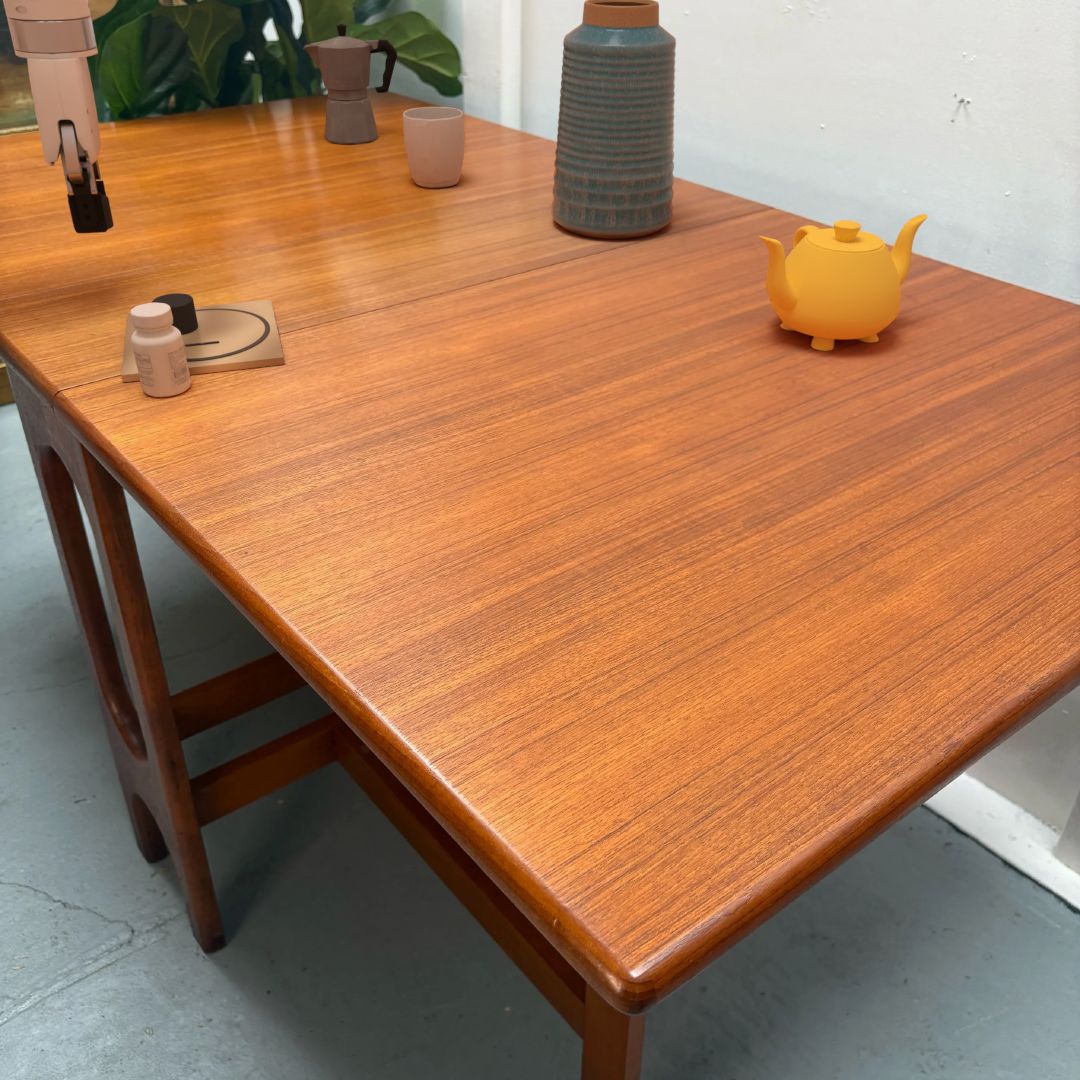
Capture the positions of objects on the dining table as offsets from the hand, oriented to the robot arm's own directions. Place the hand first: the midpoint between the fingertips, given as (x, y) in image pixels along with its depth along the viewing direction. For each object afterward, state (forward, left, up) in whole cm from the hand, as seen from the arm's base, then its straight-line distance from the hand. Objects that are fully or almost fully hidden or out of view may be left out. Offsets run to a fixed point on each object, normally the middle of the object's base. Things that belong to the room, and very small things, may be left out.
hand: (93, 223), depth 109 cm
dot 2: (+7, -13, -7) cm, 17 cm away
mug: (+45, +39, -8) cm, 60 cm away
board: (+10, -15, -8) cm, 20 cm away
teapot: (+73, -30, -8) cm, 79 cm away
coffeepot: (+38, +69, -8) cm, 79 cm away
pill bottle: (+6, -26, -8) cm, 28 cm away
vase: (+64, +11, -8) cm, 65 cm away
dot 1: (0, 0, 0) cm, 0 cm away
